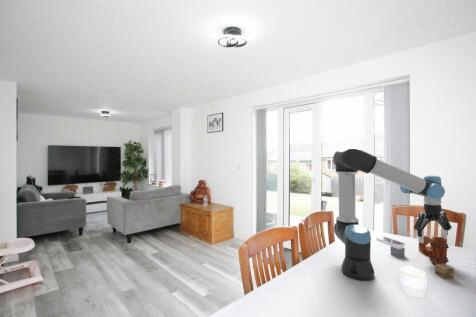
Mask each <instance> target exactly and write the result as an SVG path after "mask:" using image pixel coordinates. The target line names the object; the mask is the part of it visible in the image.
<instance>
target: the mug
mask: <svg viewBox="0 0 476 317" xmlns="http://www.w3.org/2000/svg"><path fill="white" fill-rule="evenodd" d="M427 244H429V245H431V250H427V249H426V245H427ZM419 249H420V251H421V252H422V253H423V254H422V253H421V252H420V253H421V254H422V255H424V256H426V257H428V258H429V262H431V263H433V264H446V265H447V263H448V262H449V258H448V257H447V255H448V249H450V247H449V244H448V239H447V240H446V239H445V238H442V237H441V236H432V237H431V238H430V237H429V236H427V235H424V243H420V242H418V250H419Z"/></svg>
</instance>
